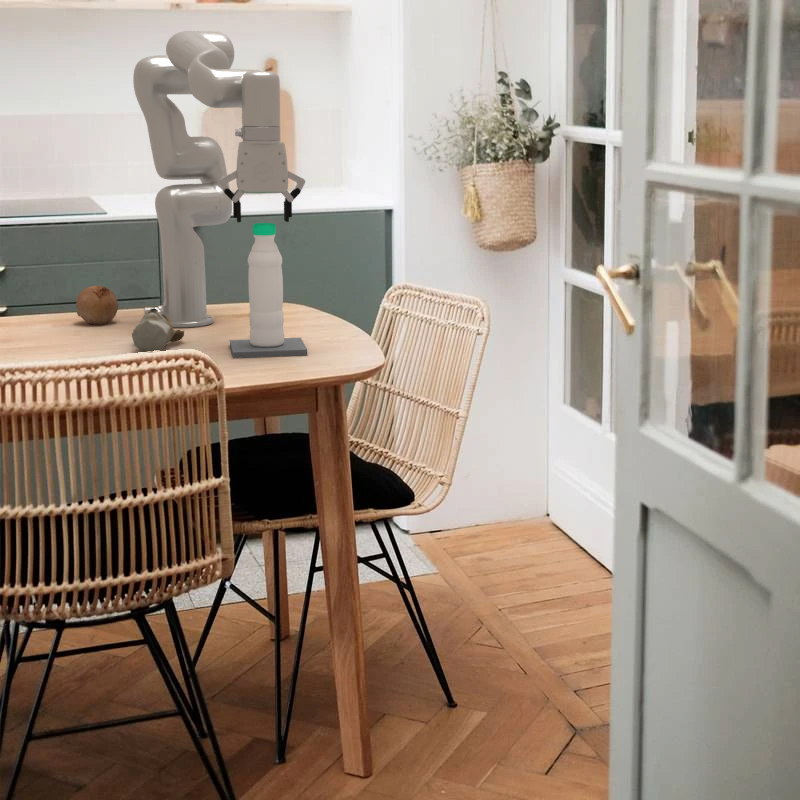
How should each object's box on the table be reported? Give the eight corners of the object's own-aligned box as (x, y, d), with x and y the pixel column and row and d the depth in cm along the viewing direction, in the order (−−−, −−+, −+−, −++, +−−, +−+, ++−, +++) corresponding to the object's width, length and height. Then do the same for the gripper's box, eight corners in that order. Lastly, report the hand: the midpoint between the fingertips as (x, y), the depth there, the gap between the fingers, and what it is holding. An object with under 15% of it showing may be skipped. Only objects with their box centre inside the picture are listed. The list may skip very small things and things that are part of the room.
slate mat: (233, 358, 258) (232, 352, 258) (229, 345, 271) (229, 340, 270) (307, 355, 261) (307, 349, 261) (300, 343, 273) (300, 337, 273)
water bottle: (278, 348, 262) (275, 225, 256) (245, 347, 263) (241, 224, 257) (288, 341, 268) (285, 221, 262) (256, 340, 270) (252, 221, 264)
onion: (111, 337, 296) (121, 301, 291) (70, 328, 293) (79, 291, 288) (114, 316, 303) (123, 280, 298) (73, 307, 301) (82, 271, 296)
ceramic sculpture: (120, 311, 261) (137, 304, 275) (121, 354, 262) (138, 344, 277) (172, 312, 260) (186, 304, 275) (173, 354, 262) (187, 344, 277)
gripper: (218, 136, 250) (220, 224, 255) (306, 136, 253) (307, 223, 258) (216, 134, 257) (218, 219, 262) (302, 134, 261) (303, 218, 265)
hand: (262, 221), depth 260 cm, fingers open, 9 cm apart
